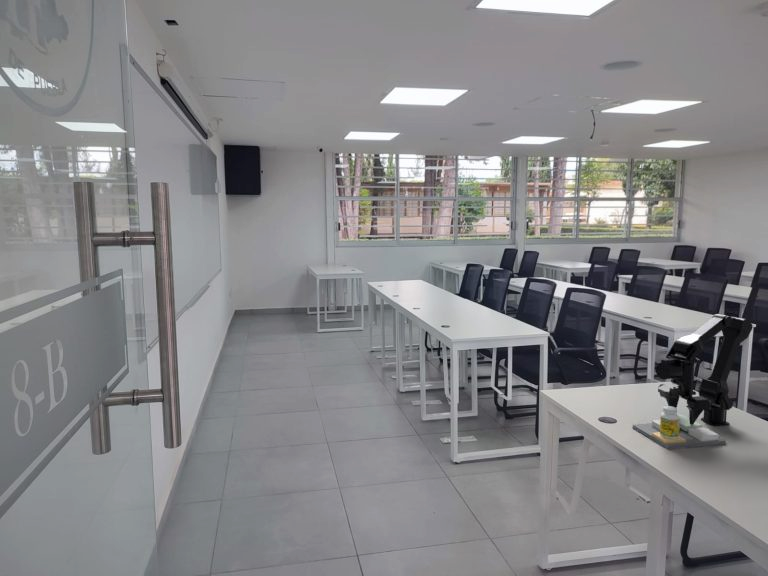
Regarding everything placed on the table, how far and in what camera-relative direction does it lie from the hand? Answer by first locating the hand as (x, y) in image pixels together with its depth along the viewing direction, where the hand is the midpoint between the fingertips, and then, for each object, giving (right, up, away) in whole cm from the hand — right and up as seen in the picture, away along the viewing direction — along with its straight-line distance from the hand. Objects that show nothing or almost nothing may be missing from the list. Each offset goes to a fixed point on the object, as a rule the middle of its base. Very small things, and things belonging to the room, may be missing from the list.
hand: (681, 419), depth 183 cm
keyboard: (-5, -4, -5) cm, 8 cm away
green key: (0, -3, 0) cm, 3 cm away
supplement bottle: (-10, -3, -10) cm, 15 cm away
